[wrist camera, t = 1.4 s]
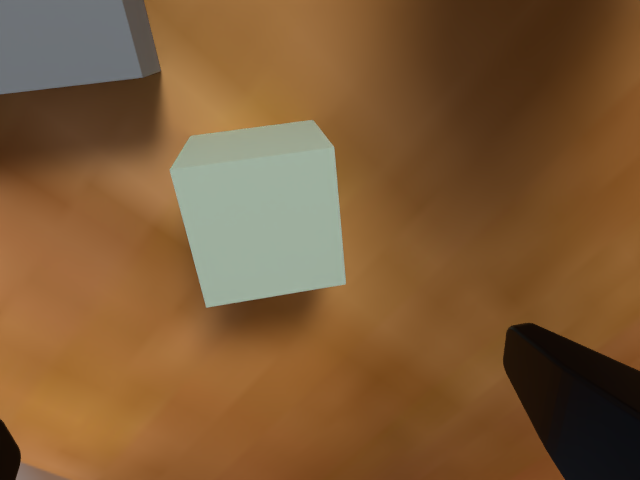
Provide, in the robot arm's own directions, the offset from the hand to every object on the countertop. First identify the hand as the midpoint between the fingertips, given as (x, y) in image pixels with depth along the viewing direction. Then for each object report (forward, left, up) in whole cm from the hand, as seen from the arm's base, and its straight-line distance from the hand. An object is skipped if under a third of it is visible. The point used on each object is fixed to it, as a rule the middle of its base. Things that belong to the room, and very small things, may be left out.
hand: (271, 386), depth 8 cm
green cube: (0, 0, -12) cm, 12 cm away
